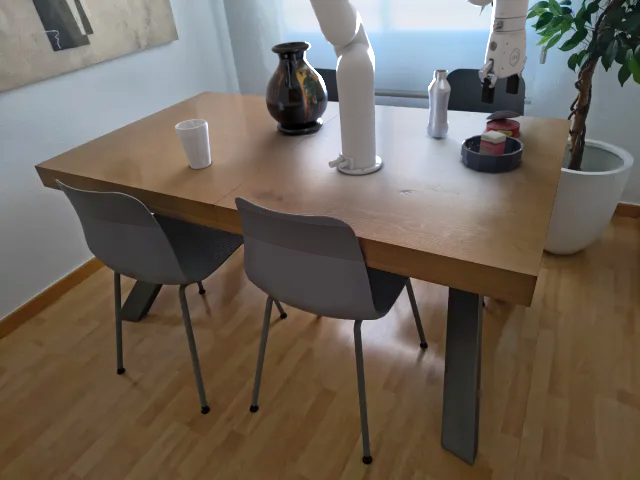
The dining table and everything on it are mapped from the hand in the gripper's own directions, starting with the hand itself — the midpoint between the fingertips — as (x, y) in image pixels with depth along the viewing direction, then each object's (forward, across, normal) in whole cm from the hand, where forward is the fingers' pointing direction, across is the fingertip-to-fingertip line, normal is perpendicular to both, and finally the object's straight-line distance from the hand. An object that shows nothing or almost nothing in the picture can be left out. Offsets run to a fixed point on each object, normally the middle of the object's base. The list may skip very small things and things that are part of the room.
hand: (499, 98), depth 113 cm
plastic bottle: (+17, +5, +24) cm, 30 cm away
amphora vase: (+17, -21, +65) cm, 71 cm away
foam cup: (+16, -61, +61) cm, 88 cm away
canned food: (+18, +20, +11) cm, 29 cm away
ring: (+17, 0, 0) cm, 17 cm away
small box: (+18, 0, 0) cm, 18 cm away
